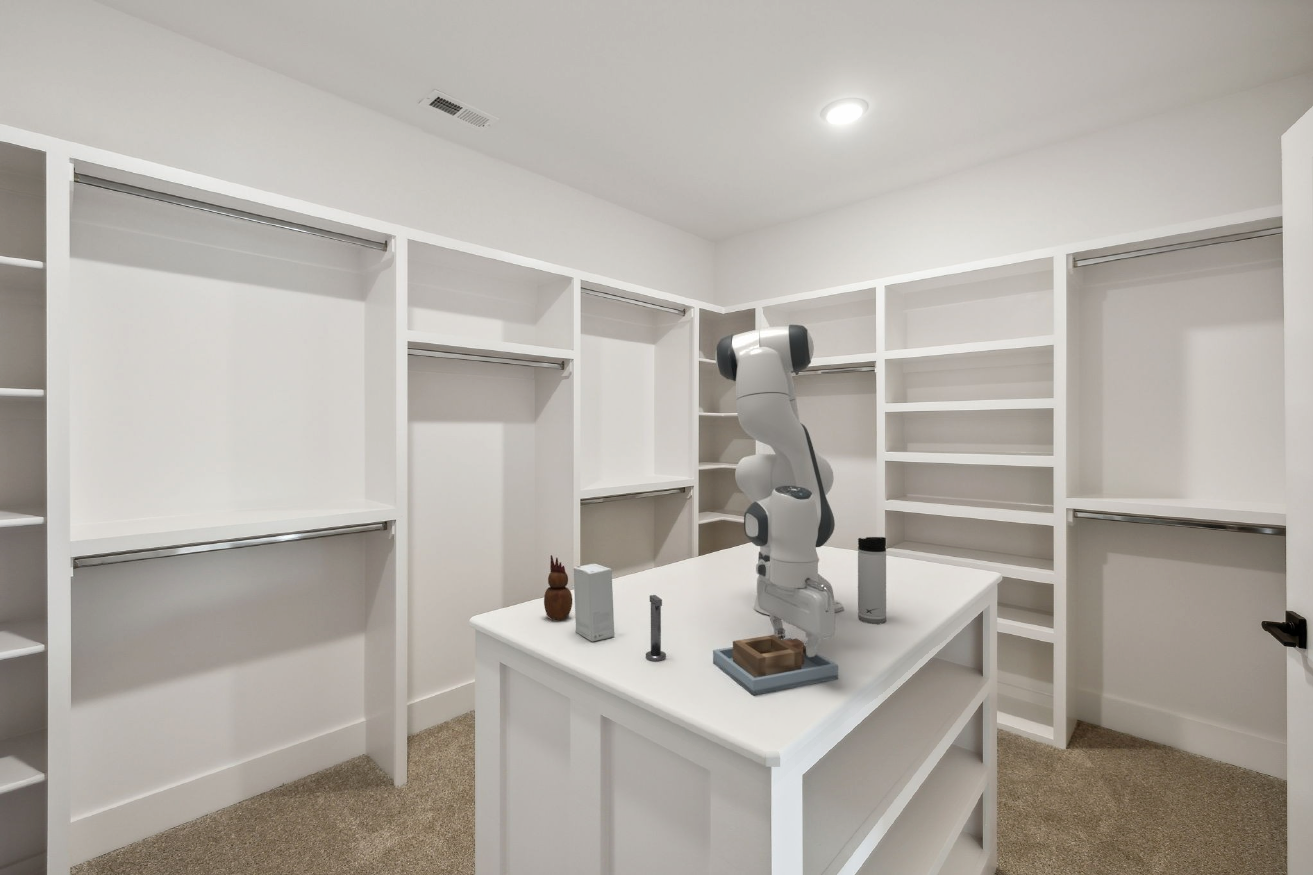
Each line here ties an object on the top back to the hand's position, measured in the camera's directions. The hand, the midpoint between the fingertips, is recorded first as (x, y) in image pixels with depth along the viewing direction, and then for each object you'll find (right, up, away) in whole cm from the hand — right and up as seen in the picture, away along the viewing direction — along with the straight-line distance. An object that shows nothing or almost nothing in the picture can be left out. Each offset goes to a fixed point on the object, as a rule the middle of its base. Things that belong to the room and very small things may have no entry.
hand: (793, 646), depth 106 cm
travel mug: (+25, -4, +27) cm, 37 cm away
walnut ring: (-4, -3, -2) cm, 5 cm away
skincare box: (-40, -4, +18) cm, 44 cm away
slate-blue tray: (-4, -4, -2) cm, 6 cm away
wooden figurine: (-50, -4, +29) cm, 57 cm away
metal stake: (-26, -4, +5) cm, 27 cm away
